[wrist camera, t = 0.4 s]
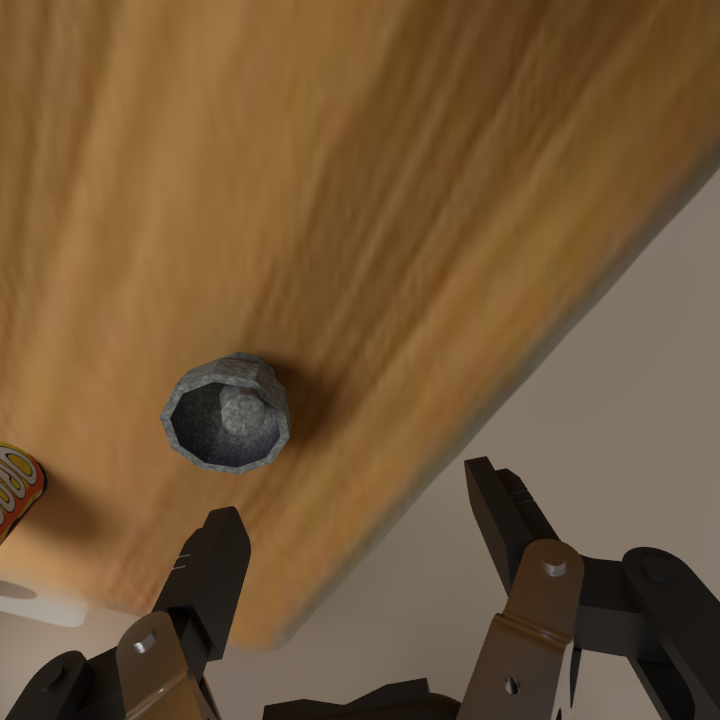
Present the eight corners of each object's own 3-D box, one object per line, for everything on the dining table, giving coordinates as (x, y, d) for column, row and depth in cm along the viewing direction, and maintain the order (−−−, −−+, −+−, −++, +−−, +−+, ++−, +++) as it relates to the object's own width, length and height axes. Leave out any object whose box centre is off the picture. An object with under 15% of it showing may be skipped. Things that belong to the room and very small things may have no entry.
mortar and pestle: (265, 437, 40) (242, 541, 29) (175, 398, 37) (112, 498, 26) (321, 352, 35) (317, 438, 25) (224, 301, 33) (173, 374, 22)
